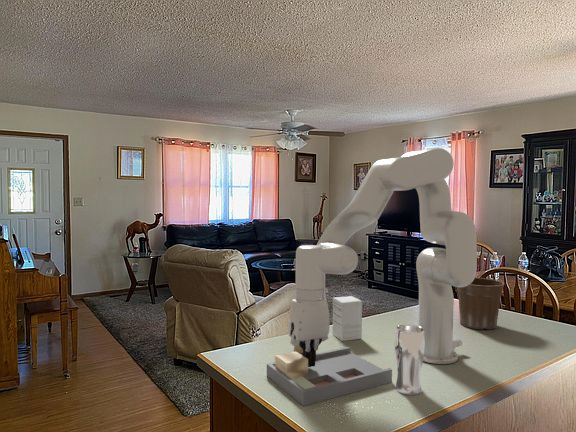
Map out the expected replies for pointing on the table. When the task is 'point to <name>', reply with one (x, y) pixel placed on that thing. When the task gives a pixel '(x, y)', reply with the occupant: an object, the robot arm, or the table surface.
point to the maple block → (292, 364)
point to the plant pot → (480, 303)
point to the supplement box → (347, 318)
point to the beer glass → (409, 358)
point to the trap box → (331, 377)
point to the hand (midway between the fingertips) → (309, 364)
